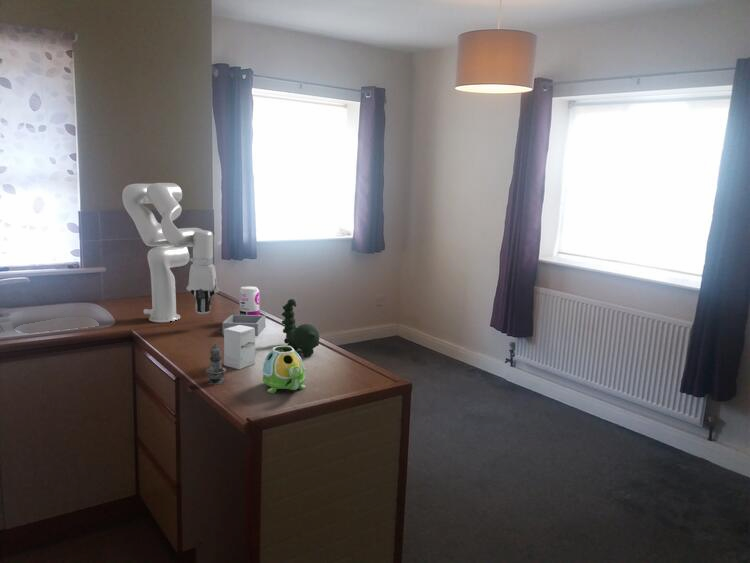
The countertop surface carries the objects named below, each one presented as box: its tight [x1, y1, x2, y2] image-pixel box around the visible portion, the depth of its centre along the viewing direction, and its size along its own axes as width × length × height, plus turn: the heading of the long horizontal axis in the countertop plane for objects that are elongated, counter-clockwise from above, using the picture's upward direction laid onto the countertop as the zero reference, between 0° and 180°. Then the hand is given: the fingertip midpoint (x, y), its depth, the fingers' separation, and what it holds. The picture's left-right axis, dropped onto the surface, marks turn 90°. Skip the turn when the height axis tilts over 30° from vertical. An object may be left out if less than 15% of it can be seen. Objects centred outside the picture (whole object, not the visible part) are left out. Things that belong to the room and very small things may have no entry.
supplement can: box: [239, 285, 260, 315], centre depth 247 cm, size 8×8×15 cm
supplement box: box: [223, 325, 256, 370], centre depth 192 cm, size 7×7×13 cm
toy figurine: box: [281, 298, 320, 357], centre depth 208 cm, size 9×19×25 cm
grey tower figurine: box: [205, 343, 227, 385], centre depth 176 cm, size 6×6×12 cm
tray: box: [221, 314, 267, 337], centre depth 234 cm, size 14×14×5 cm
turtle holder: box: [262, 345, 306, 394], centre depth 171 cm, size 12×18×12 cm
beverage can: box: [195, 289, 211, 315], centre depth 233 cm, size 6×6×12 cm
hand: (203, 306), depth 234 cm, fingers closed on beverage can, 3 cm apart
